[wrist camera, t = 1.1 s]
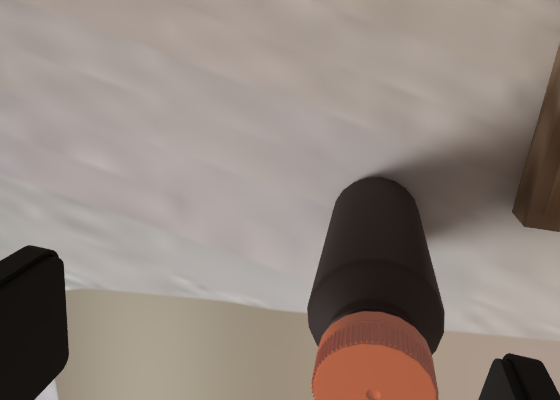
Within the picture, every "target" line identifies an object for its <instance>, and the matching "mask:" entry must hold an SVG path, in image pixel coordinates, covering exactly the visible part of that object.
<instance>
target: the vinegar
mask: <svg viewBox="0 0 560 400" xmlns="http://www.w3.org/2000/svg"><path fill="white" fill-rule="evenodd" d="M307 310H308V321H309V328H310V330H311V333H312V335H313V337H314V339H315V342H316V344H317V346H318V347H319V348H318V352H317V356H316V362H315V367H314V373H313V377H312V389H313V391H312V393H314V395H313V397H315V400H438V388H437V382H436V377H435V371H434V365H433V359H432V354H433V353H434V352H435V351H436V349H437V347H438V345H439V342H440V340H441V338H442V336H443V333H444V308H443V304H442V300H441V296H440V292H439V289H438V285H437V281H436V277H435V273H434V269H433V265H432V262H431V258H430V254H429V250H428V246H427V242H426V238H425V234H424V231H423V227H422V223H421V219H420V215H419V211H418V208H417V206H416V203H415V200H414V198H413V197H412V196H411V195H410V193H409V192H408V191H407V190H406V189H405V188H404V187H402V186H401V185H399V184H398V183H396V182H395V181H391V180H388V179H384V178H366V179H363V180H360V181H357V182H354V183H353V184H351V185H350V186H349V187H347V188H346V189H344V190H343V192H342V193H341V194H340V196H339V197H338V199H337V200H336V203H335V206H334V209H333V213H332V217H331V221H330V224H329V228H328V232H327V236H326V239H325V243H324V247H323V251H322V254H321V258H320V262H319V266H318V269H317V273H316V277H315V281H314V284H313V288H312V292H311V296H310V299H309V303H308V307H307Z"/></svg>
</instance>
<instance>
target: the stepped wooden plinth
mask: <svg viewBox="0 0 560 400" xmlns="http://www.w3.org/2000/svg"><path fill="white" fill-rule="evenodd" d="M512 212H513V214H514V215H515V216H516V217H517V218H518V220H519V221H520V222H521V223H522V225H523V226H524V227H530V228H537V229H544V230H551V231H557V232H560V45H559V48H558V52H557V55H556V59H555V62H554V66H553V69H552V73H551V76H550V80H549V83H548V87H547V90H546V94H545V97H544V101H543V104H542V108H541V112H540V115H539V119H538V122H537V126H536V129H535V133H534V136H533V140H532V143H531V147H530V150H529V154H528V157H527V161H526V164H525V168H524V171H523V175H522V178H521V182H520V185H519V189H518V192H517V196H516V200H515V203H514V207H513V210H512Z"/></svg>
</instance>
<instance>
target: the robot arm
mask: <svg viewBox="0 0 560 400" xmlns="http://www.w3.org/2000/svg"><path fill="white" fill-rule="evenodd" d="M68 356H69V349H68V331H67V314H66V297H65V279H64V264H63V261H62V260H61V259H60V258H59V257H58V254H57V253H56V252H55V251H54V250H50V249H45V248H41V247H36V246H30V245H28V246H26V247H23V248H22V249H20V250H18V251H17V252H15V253H13V254H11V255H10V256H8V257H6V258H4V259H3V260H1V261H0V400H34V399H35V398H36V397H37V396H38V395H39V394H40V393H41V392H42V391H43V390H44V389H45V388H46V387H47V386H48V385H49V384H50V383H51V382H52V381H53V380H54V378H55V377H56V376H57V375H58V374H59V373H60V372H61V371H62V370H63V369H64V367H65V365H66V363H67V360H68ZM479 400H560V395H559V393H558V391H557V389H556V387H555V385H554V383H553V381H552V379H551V378H550V376H549V374H548V372H547V370H546V368H545V366H544V365H543V363H542V362H541V361H539V360H536V359H532V358H527V357H523V356H519V355H514V354H510V353H509V354H506V355H505V356H504V357H503V359H495V360H494V361H493V363H492V365H491V368H490V370H489V373H488V376H487V378H486V381H485V384H484V386H483V389H482V392H481V394H480V397H479Z"/></svg>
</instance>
